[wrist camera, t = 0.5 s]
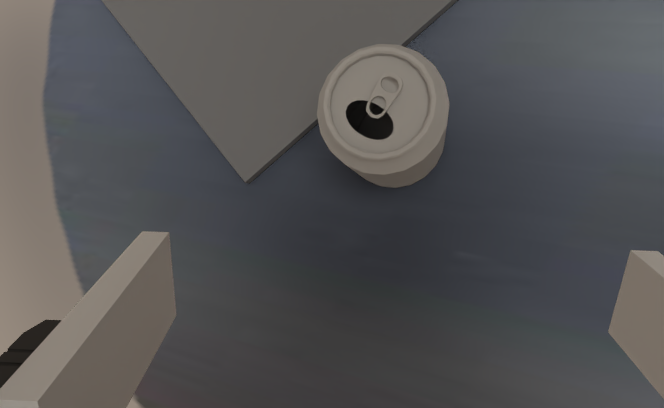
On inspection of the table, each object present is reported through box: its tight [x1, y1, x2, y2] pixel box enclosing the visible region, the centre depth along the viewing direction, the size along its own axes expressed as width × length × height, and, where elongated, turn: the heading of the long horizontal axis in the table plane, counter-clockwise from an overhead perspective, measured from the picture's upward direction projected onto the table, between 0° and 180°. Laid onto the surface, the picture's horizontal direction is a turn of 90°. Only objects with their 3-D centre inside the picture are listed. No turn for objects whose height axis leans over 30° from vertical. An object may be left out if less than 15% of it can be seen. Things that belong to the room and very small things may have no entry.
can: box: [317, 44, 449, 188], centre depth 33 cm, size 8×8×12 cm
